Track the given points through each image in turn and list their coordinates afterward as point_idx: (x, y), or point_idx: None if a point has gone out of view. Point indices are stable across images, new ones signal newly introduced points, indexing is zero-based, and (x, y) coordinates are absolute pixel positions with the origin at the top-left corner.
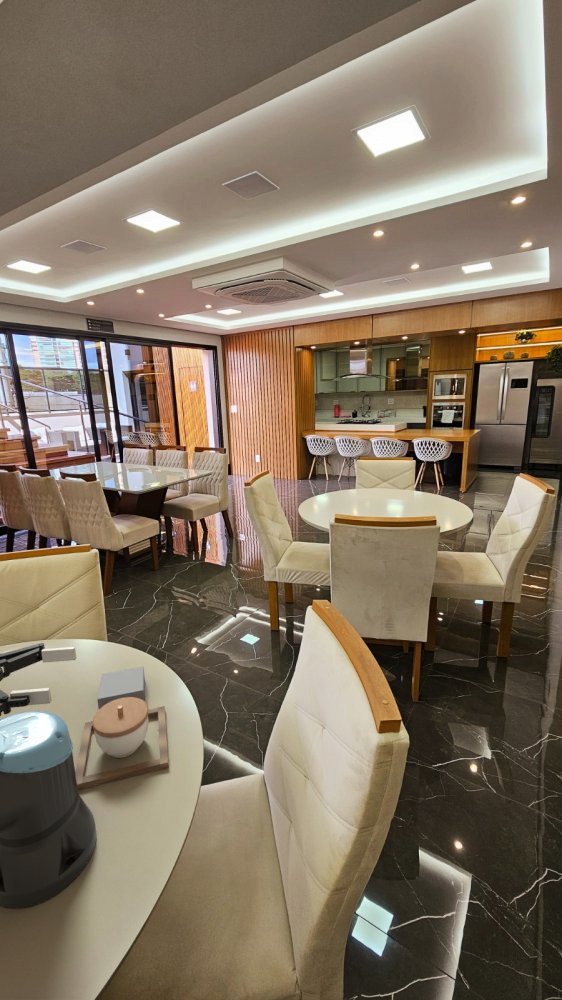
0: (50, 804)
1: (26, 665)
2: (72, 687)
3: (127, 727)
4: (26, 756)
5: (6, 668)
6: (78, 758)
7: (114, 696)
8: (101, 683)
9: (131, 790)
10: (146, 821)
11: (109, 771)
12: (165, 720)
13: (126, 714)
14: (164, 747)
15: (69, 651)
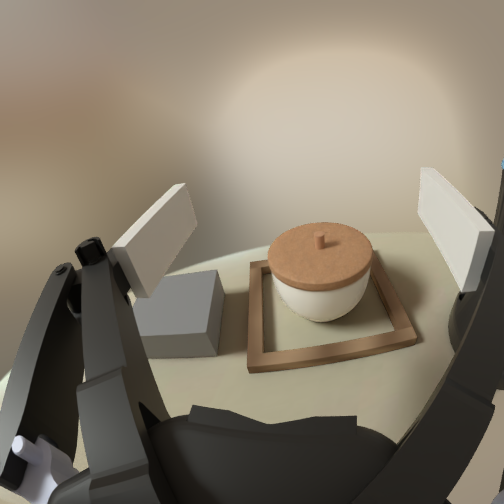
0: None
1: (141, 343)
2: None
3: (358, 233)
4: None
5: (152, 409)
6: (356, 351)
7: (210, 307)
8: (153, 333)
9: (407, 277)
10: (441, 257)
11: (388, 297)
12: None
13: (325, 239)
14: None
15: (182, 198)
